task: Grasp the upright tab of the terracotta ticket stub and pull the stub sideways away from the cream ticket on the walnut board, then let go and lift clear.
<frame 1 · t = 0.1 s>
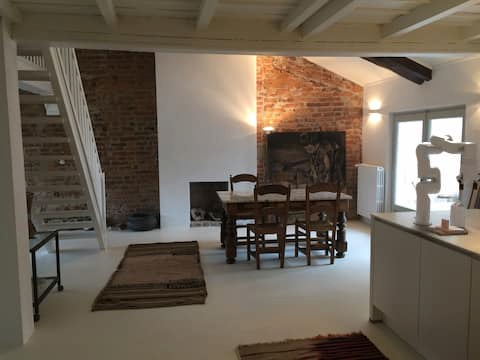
hand: (468, 189, 255), 31 cm above the worktop, tool pointing down, fingers open, 9 cm apart
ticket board: (446, 232, 275), on the worktop
milk carton: (457, 226, 292), on the worktop
stub: (445, 224, 274), point 5 cm above the worktop, slide at 0.0 cm
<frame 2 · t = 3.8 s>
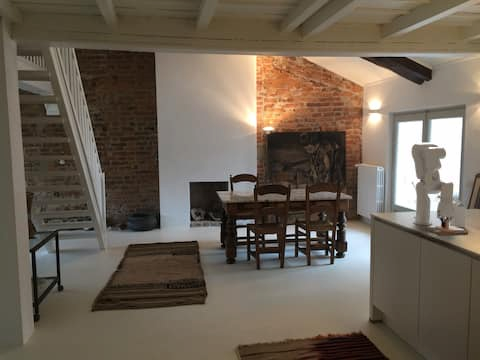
hand: (444, 226, 275), 4 cm above the worktop, tool pointing down, fingers closed on stub, 2 cm apart
stub: (445, 224, 274), point 5 cm above the worktop, slide at 0.0 cm, touching gripper
everything else where it was.
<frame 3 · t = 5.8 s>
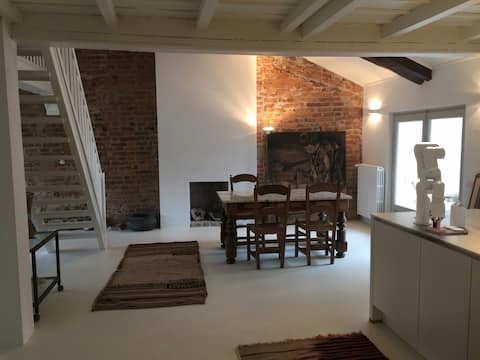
hand: (436, 227, 273), 4 cm above the worktop, tool pointing down, fingers closed on stub, 2 cm apart
stub: (436, 224, 273), point 5 cm above the worktop, slide at 6.5 cm, touching gripper
everything else where it was.
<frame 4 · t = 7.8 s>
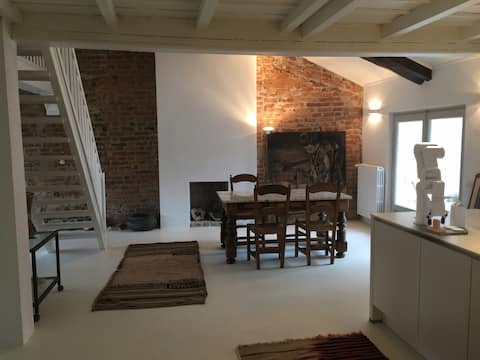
hand: (436, 224, 274), 6 cm above the worktop, tool pointing down, fingers open, 9 cm apart
stub: (436, 224, 273), point 5 cm above the worktop, slide at 6.5 cm
everything else where it was.
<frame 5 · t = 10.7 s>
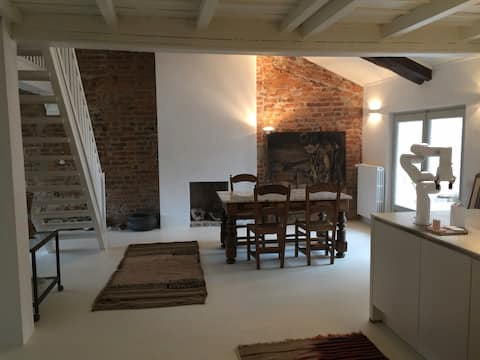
hand: (443, 189, 278), 28 cm above the worktop, tool pointing down, fingers open, 9 cm apart
nothing on the worktop moved.
at the end: stub slide at 6.5 cm; milk carton moved 0.2 cm from its start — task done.
